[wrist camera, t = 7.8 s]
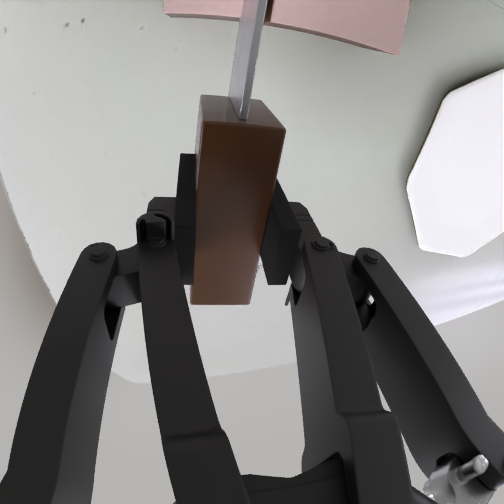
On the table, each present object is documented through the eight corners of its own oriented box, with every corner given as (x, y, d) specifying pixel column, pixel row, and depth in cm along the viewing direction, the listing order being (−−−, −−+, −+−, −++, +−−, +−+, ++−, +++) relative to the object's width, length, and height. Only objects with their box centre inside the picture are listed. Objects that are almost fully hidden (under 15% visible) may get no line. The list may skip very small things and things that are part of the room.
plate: (529, 52, 22) (537, 55, 21) (533, 200, 39) (538, 205, 38) (380, 118, 28) (387, 123, 27) (420, 276, 45) (425, 283, 44)
